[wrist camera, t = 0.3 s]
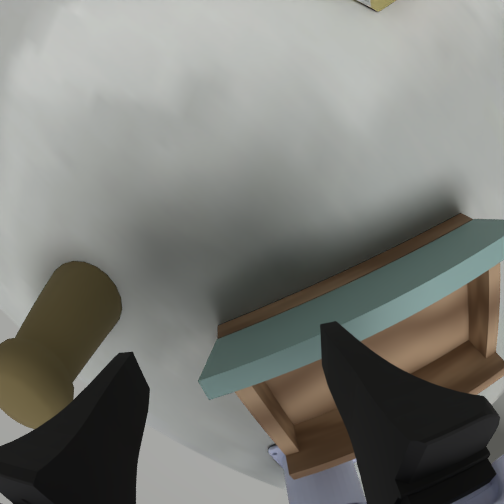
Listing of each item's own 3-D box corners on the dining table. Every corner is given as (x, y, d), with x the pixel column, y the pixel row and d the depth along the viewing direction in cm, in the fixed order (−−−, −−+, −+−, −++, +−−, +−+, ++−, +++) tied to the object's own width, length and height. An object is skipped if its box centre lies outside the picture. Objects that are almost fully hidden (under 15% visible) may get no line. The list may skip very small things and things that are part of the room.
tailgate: (478, 234, 19) (531, 240, 13) (224, 354, 21) (209, 400, 15) (474, 218, 19) (526, 220, 13) (217, 339, 21) (198, 381, 15)
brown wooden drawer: (469, 333, 25) (506, 373, 19) (283, 423, 27) (293, 479, 21) (460, 213, 21) (518, 243, 15) (217, 325, 23) (216, 391, 17)
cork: (42, 308, 21) (-28, 405, 11) (60, 245, 20) (-34, 337, 9) (107, 345, 23) (61, 459, 13) (134, 287, 21) (78, 409, 11)
